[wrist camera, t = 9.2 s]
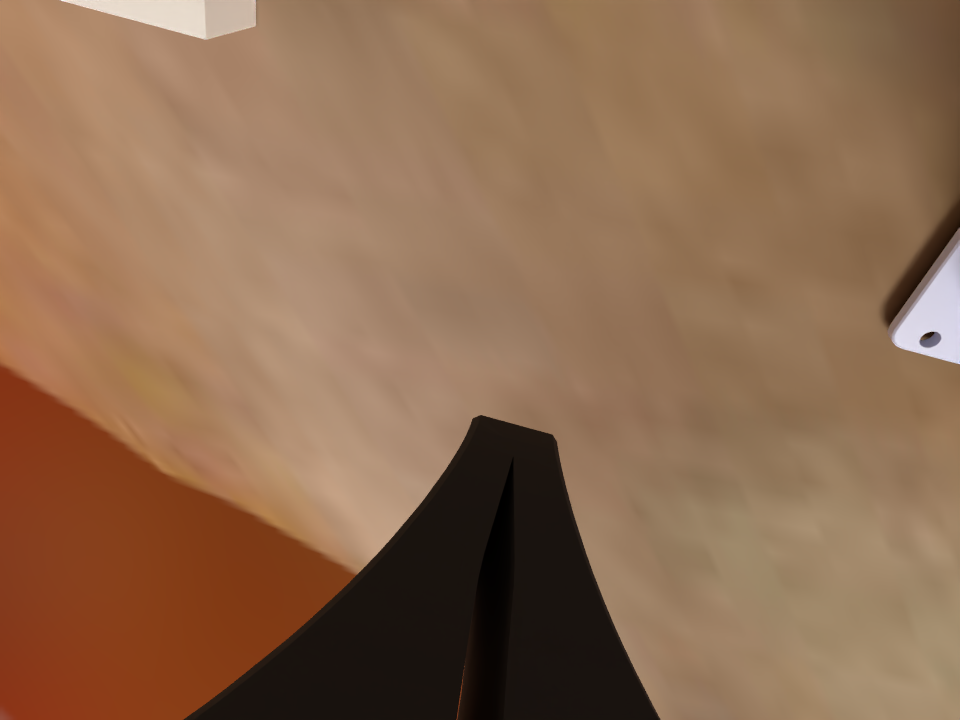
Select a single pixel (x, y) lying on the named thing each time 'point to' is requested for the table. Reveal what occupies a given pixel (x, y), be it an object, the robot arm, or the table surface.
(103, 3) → the white u-shaped frame
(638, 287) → the table surface
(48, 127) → the table surface
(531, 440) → the robot arm
